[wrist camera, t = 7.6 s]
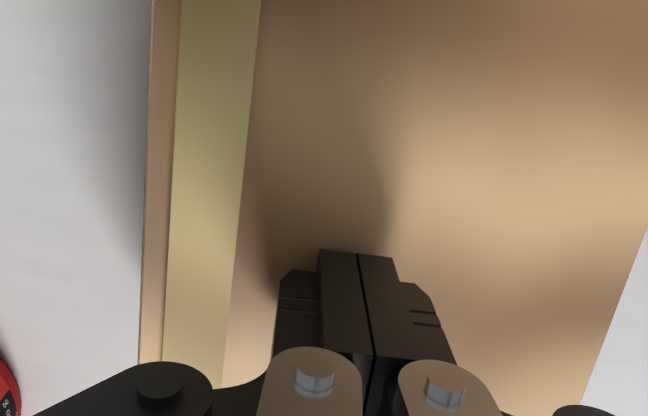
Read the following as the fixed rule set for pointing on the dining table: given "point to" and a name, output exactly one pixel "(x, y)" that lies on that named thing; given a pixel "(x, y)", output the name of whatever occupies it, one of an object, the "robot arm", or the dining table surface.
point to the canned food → (8, 393)
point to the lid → (397, 174)
